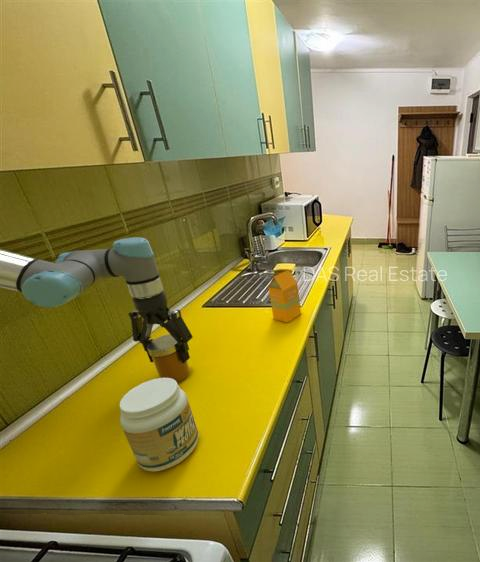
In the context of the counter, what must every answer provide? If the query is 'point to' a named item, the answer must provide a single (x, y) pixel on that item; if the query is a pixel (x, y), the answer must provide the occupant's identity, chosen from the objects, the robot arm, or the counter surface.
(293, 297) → the orange juice
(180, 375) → the jar
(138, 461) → the supplement tub
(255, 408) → the counter surface
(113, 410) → the counter surface
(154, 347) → the lid
